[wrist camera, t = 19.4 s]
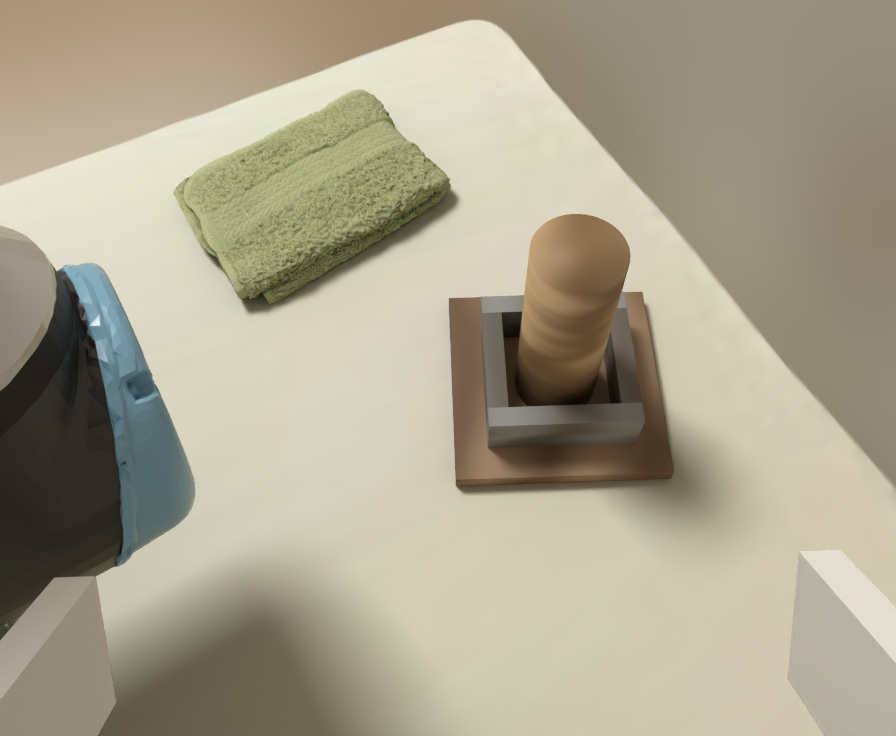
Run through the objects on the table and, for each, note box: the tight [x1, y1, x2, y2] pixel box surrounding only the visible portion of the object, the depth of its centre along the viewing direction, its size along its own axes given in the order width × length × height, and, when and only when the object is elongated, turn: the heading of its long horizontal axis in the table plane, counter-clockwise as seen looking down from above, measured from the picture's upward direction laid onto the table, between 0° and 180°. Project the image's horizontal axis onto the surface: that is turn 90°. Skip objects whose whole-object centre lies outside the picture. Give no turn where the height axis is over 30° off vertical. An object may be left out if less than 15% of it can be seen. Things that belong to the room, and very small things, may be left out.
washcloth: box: [173, 90, 451, 304], centre depth 61 cm, size 13×18×3 cm
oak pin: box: [515, 214, 630, 406], centre depth 47 cm, size 5×5×13 cm
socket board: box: [449, 292, 674, 486], centre depth 52 cm, size 13×13×4 cm
